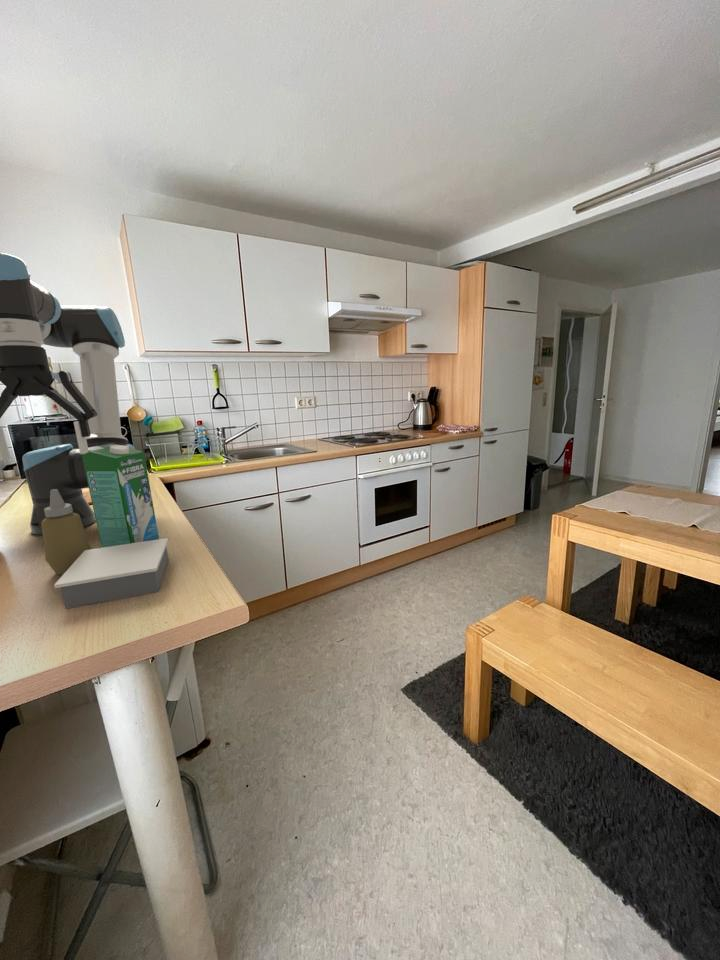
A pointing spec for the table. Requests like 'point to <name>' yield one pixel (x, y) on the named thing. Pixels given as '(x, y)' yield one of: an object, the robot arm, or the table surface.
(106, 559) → the display podium
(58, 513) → the squeeze bottle
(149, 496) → the milk carton
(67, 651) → the table surface
